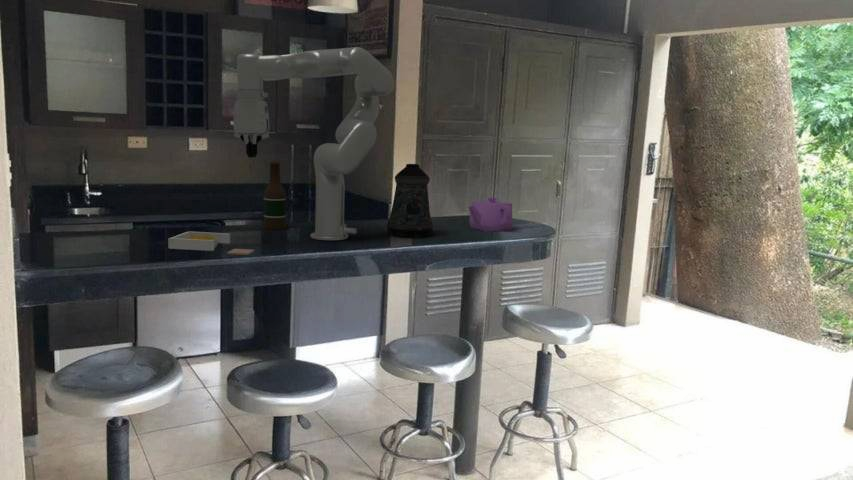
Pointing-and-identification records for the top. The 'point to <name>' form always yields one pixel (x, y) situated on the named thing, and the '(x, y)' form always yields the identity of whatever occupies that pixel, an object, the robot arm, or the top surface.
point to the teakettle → (491, 215)
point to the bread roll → (204, 238)
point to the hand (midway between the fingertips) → (252, 156)
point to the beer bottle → (274, 200)
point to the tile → (240, 251)
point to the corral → (197, 241)
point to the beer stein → (410, 205)
